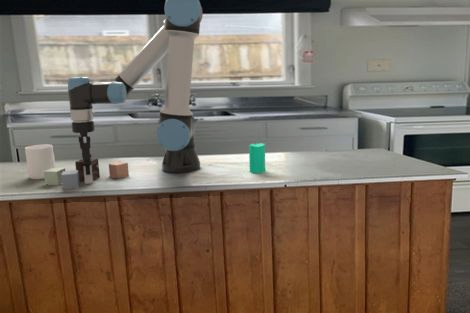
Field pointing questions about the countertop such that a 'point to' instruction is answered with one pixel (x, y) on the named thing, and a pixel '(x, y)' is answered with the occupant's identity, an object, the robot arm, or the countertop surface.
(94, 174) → the box
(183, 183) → the countertop surface
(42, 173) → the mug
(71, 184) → the cube slate
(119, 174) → the cube terracotta
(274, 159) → the countertop surface
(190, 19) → the robot arm
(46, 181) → the cube sage
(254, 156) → the candle
